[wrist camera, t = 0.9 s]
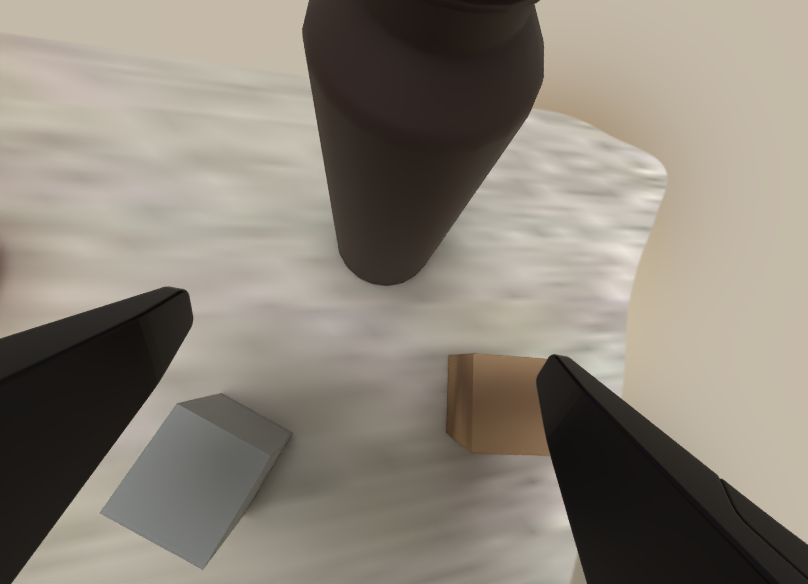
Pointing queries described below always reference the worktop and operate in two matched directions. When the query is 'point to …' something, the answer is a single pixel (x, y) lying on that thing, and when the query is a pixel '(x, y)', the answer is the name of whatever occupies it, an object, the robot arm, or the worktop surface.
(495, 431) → the walnut cube
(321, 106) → the vinegar
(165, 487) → the slate cube
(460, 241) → the worktop surface
